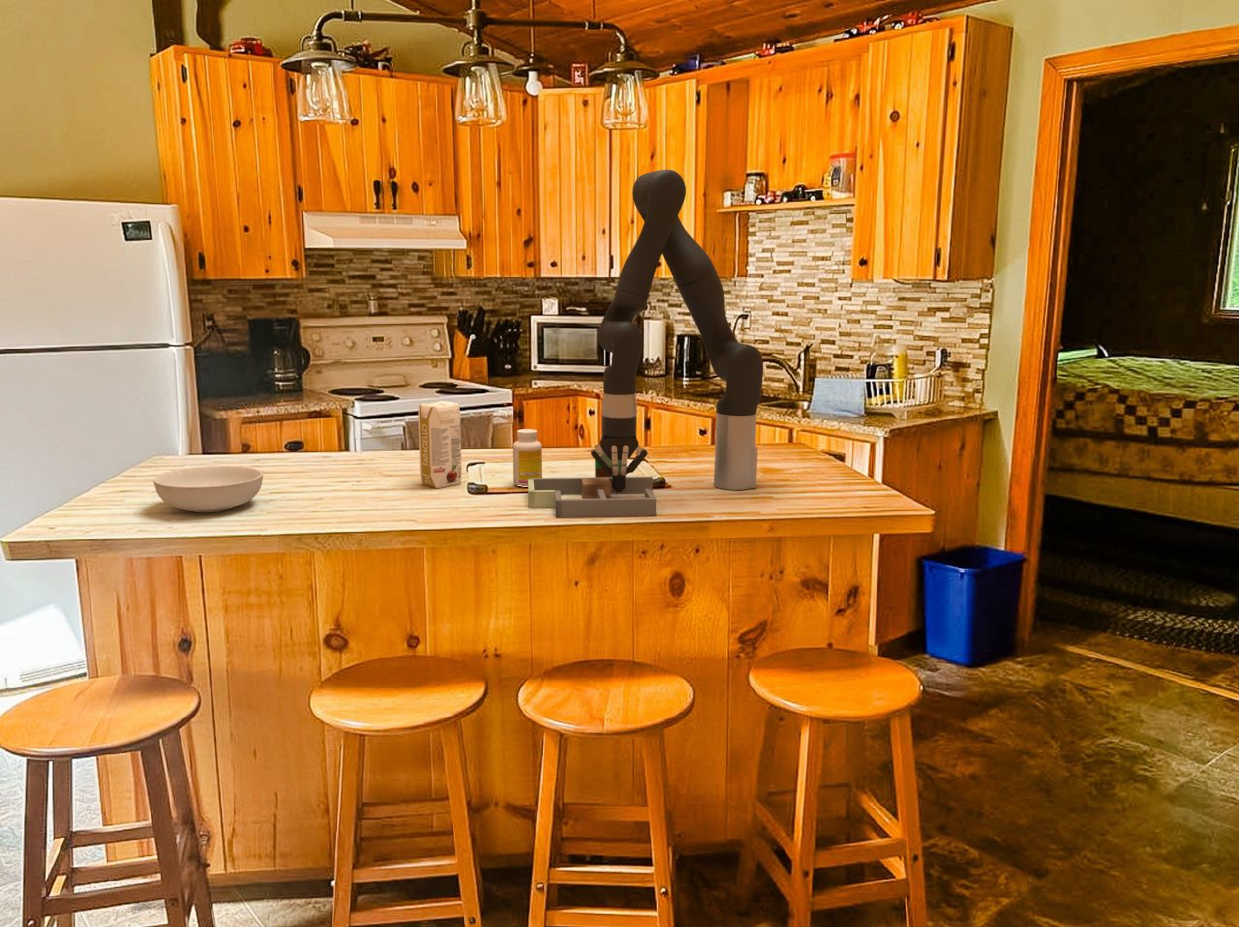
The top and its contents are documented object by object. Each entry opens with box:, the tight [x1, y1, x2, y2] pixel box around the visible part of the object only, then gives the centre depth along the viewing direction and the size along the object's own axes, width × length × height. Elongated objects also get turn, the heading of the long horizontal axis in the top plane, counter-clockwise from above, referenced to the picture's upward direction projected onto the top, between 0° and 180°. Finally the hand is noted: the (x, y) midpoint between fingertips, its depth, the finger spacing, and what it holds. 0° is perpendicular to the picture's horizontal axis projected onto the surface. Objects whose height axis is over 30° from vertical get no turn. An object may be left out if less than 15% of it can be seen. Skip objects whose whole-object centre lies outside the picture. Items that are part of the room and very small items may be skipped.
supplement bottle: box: [512, 428, 543, 486], centre depth 220 cm, size 7×7×13 cm
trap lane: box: [527, 476, 658, 518], centre depth 204 cm, size 28×21×4 cm
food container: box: [594, 444, 620, 477], centre depth 223 cm, size 12×6×10 cm, turn 168°
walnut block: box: [581, 477, 612, 499], centre depth 209 cm, size 6×6×4 cm
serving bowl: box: [153, 465, 264, 513], centre depth 198 cm, size 21×21×7 cm
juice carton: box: [417, 400, 462, 489], centre depth 219 cm, size 8×9×19 cm
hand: (618, 491), depth 209 cm, fingers closed
